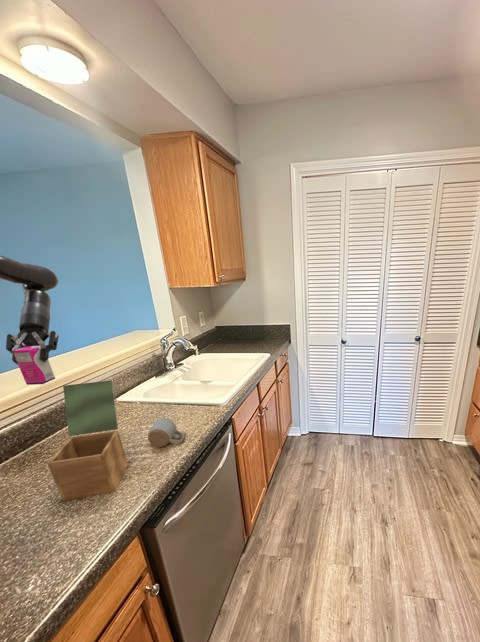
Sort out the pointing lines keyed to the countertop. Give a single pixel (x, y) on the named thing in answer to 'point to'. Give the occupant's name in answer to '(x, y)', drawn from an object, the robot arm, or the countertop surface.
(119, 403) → the countertop surface
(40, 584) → the countertop surface
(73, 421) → the lid
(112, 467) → the chest
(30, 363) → the supplement box
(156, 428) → the ceramic mug
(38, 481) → the countertop surface
